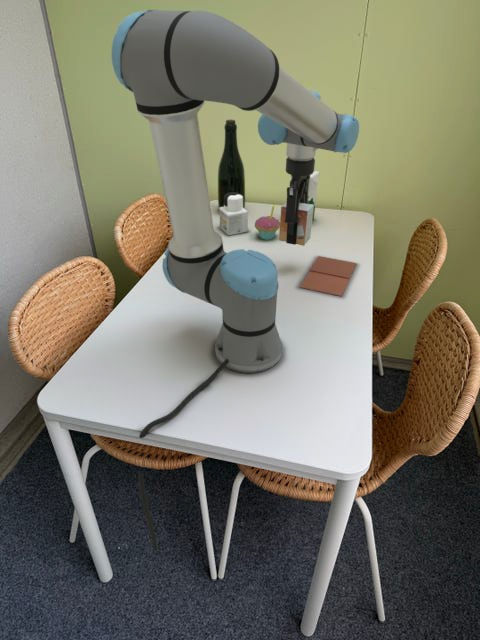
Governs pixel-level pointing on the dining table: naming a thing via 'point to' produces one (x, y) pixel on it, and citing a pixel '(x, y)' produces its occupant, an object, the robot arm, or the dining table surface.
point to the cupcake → (267, 226)
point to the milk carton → (312, 189)
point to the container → (233, 214)
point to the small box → (303, 223)
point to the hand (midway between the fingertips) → (294, 238)
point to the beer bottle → (230, 166)
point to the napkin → (329, 276)
